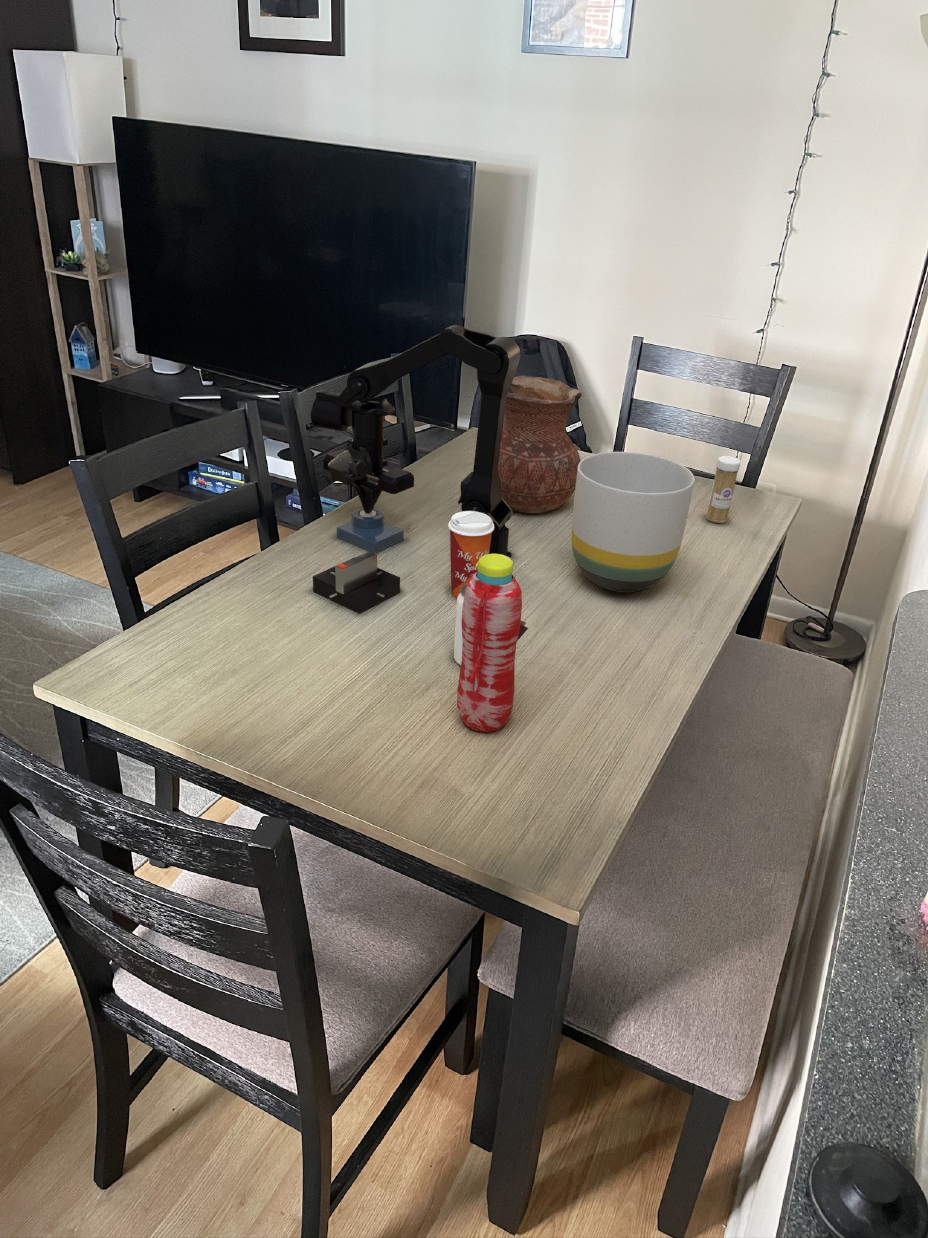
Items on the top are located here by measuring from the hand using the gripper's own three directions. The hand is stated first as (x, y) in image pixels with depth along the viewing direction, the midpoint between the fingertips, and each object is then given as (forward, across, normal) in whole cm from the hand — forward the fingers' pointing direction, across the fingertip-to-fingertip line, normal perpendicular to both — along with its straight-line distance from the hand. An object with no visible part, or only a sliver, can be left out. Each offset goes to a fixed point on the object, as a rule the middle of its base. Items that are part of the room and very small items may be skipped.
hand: (368, 512), depth 172 cm
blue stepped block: (+4, +2, -2) cm, 5 cm away
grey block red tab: (+1, +18, -21) cm, 27 cm away
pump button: (+2, 0, 0) cm, 2 cm away
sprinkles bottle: (+4, +48, +56) cm, 74 cm away
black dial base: (+4, +17, -21) cm, 27 cm away
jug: (+4, +13, +35) cm, 38 cm away
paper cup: (+4, +30, -6) cm, 30 cm away
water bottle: (+4, +54, -32) cm, 62 cm away
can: (+4, +44, -22) cm, 49 cm away
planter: (+4, +47, +16) cm, 50 cm away
